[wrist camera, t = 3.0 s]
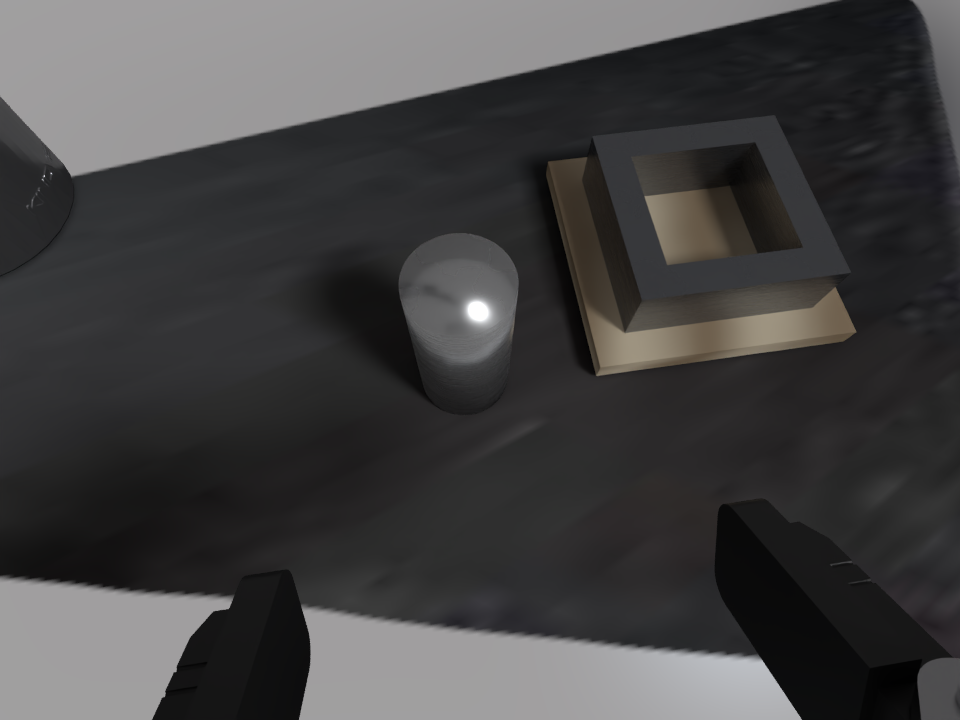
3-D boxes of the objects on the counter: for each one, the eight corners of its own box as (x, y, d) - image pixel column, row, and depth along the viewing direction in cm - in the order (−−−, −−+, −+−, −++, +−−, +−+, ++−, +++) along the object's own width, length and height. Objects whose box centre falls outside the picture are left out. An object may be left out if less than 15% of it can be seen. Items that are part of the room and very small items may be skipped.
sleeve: (624, 333, 26) (642, 300, 23) (581, 180, 29) (592, 136, 27) (812, 307, 26) (851, 272, 24) (747, 160, 30) (774, 115, 27)
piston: (426, 420, 25) (404, 344, 18) (417, 341, 27) (393, 240, 19) (514, 408, 25) (528, 327, 18) (500, 330, 27) (507, 226, 20)
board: (596, 375, 26) (600, 367, 25) (546, 174, 31) (547, 161, 30) (843, 341, 27) (856, 331, 26) (756, 150, 31) (764, 136, 31)
